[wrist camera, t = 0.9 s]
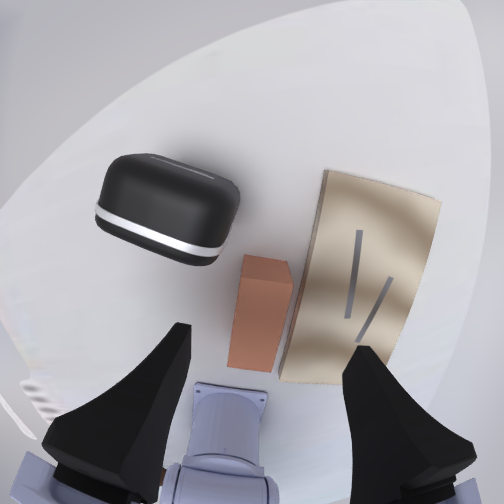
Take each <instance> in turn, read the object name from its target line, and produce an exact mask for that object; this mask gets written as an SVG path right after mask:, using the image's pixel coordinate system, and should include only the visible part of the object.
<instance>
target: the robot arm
mask: <svg viewBox="0 0 504 504" xmlns="http://www.w3.org/2000/svg"><path fill="white" fill-rule="evenodd" d="M190 360H191V325H189V324H184V323H179V322H177V323H175V324H174V325H173V327H172V328H171V329H170V331H169V332H168V333H167V335H166V336H165V337H164V338H163V339H162V341H161V342H160V343H159V344H158V345H157V346H156V347H155V349H154V350H153V351H152V352H151V353H150V354H149V355H148V356H147V357H146V358H145V359H144V360H143V361H142V362H141V363H140V364H139V365H138V366H137V367H136V368H135V369H134V370H133V371H132V372H130V373H129V374H128V375H127V376H126V377H125V378H123V379H122V380H121V381H120V382H118V383H117V384H116V385H114V386H113V387H111V388H110V389H109V390H107V391H106V392H104V393H103V394H101V395H100V396H98V397H97V398H95V399H93V400H91V401H90V402H88V403H86V404H84V405H83V406H81V407H79V408H77V409H75V410H73V411H70V412H68V413H66V414H64V415H61V416H59V417H56V418H55V419H54V421H53V422H52V424H51V425H50V427H49V429H48V431H47V433H46V435H45V437H44V439H43V442H42V447H43V448H44V450H45V451H46V452H47V453H48V454H50V455H51V456H52V457H53V458H54V459H55V460H56V461H57V462H58V465H57V467H55V466H53V465H51V464H50V463H48V462H46V461H45V460H43V459H41V458H39V457H38V456H36V455H34V454H33V453H31V452H29V451H27V452H26V454H25V456H24V459H23V461H22V463H21V466H20V468H19V471H18V473H17V476H16V478H15V480H14V483H13V486H12V488H11V491H10V494H9V495H10V497H11V498H13V499H14V500H16V501H17V502H18V503H20V504H140V503H143V504H153V503H155V502H157V500H158V492H159V485H160V478H161V472H162V466H163V460H164V455H165V449H166V444H167V439H168V435H169V430H170V426H171V422H172V419H173V416H174V413H175V410H176V407H177V404H178V401H179V398H180V395H181V392H182V389H183V386H184V384H185V381H186V378H187V373H188V369H189V364H190ZM342 385H343V395H344V401H345V406H346V411H347V416H348V421H349V427H350V432H351V439H352V457H353V469H352V489H351V498H350V504H481V499H480V495H479V491H478V487H477V483H476V480H475V478H472V479H470V480H468V481H466V482H463V483H461V484H459V485H457V486H455V487H454V485H453V482H455V481H456V476H455V475H456V474H457V473H459V472H460V471H462V470H463V469H465V468H466V467H468V466H469V465H471V464H472V463H473V462H474V461H475V460H476V458H477V455H476V452H475V450H474V446H473V443H472V442H470V441H468V440H466V439H464V438H462V437H460V436H459V435H457V434H455V433H454V432H452V431H450V430H449V429H448V428H446V427H444V426H443V425H442V424H440V423H439V422H438V421H437V420H435V419H434V418H433V417H431V416H430V415H429V414H428V413H427V412H426V411H425V410H424V409H423V408H422V407H421V406H420V405H419V404H418V403H417V402H416V401H415V400H414V399H413V398H412V397H411V396H410V395H409V394H408V393H407V392H406V391H405V389H404V388H403V387H402V386H401V385H400V384H399V382H398V381H397V380H396V379H395V377H394V376H393V375H392V374H391V372H390V371H389V370H388V368H387V367H386V366H385V364H384V363H383V362H382V361H381V359H380V358H379V357H378V355H377V354H376V353H375V352H374V350H373V349H372V348H371V347H370V346H365V345H358V346H357V348H356V350H355V351H354V353H353V355H352V357H351V359H350V361H349V362H348V364H347V366H346V368H345V369H344V371H343V373H342ZM198 390H200V391H198ZM267 398H268V396H267V393H265V392H257V391H248V390H240V389H232V388H225V387H218V386H212V385H206V384H200V383H197V384H195V386H194V400H193V426H192V431H191V435H190V440H189V445H188V449H187V454H186V456H184V458H183V463H182V467H181V464H179V463H174V464H173V465H171V466H169V467H168V469H167V471H166V474H165V478H164V481H163V486H162V491H161V497H160V504H279V490H278V486H277V484H276V483H275V482H274V481H273V479H272V478H271V477H269V476H264V467H259V424H260V421H261V418H262V415H263V411H264V408H265V405H266V401H267Z"/></svg>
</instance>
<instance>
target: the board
mask: <svg viewBox="0 0 504 504" xmlns="http://www.w3.org/2000/svg"><path fill="white" fill-rule="evenodd" d="M441 202H442V201H439V200H436V199H433V198H430V197H426V196H423V195H420V194H417V193H414V192H410V191H407V190H404V189H400V188H397V187H393V186H389V185H386V184H382V183H378V182H375V181H371V180H367V179H363V178H359V177H355V176H351V175H346V174H342V173H338V172H333V171H328V170H324V176H323V181H322V187H321V192H320V198H319V203H318V208H317V213H316V218H315V223H314V228H313V233H312V238H311V242H310V247H309V252H308V256H307V261H306V265H305V270H304V274H303V279H302V283H301V287H300V291H299V295H298V300H297V304H296V308H295V312H294V316H293V320H292V324H291V328H290V331H289V335H288V339H287V343H286V346H285V350H284V354H283V357H282V361H281V365H280V368H279V372H278V373H279V382H292V383H307V384H332V385H342V373H343V371H344V369H345V368H346V366H347V364H348V362H349V361H350V359H351V357H352V355H353V353H354V351H355V350H356V348H357V346H358V345H365V346H370V347H371V348H372V349H373V350H374V352H375V353H376V354H377V355H378V357H379V358H380V359H381V361H382V362H383V363H384V364H385V366H386V365H387V363H388V360H389V358H390V356H391V354H392V352H393V350H394V347H395V345H396V343H397V341H398V338H399V336H400V334H401V331H402V329H403V327H404V324H405V322H406V319H407V317H408V314H409V312H410V309H411V306H412V304H413V301H414V298H415V295H416V293H417V290H418V287H419V284H420V281H421V278H422V275H423V272H424V268H425V265H426V262H427V259H428V255H429V252H430V248H431V244H432V241H433V237H434V233H435V229H436V225H437V221H438V216H439V212H440V207H441Z"/></svg>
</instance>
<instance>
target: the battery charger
mask: <svg viewBox="0 0 504 504" xmlns="http://www.w3.org/2000/svg"><path fill="white" fill-rule="evenodd" d="M239 202H240V192H239V190H238V188H237V187H236V186H235V185H234V184H233V183H232V182H231V181H229V180H227V179H225V178H222V177H220V176H217V175H214V174H212V173H209V172H206V171H203V170H200V169H197V168H194V167H191V166H188V165H186V164H183V163H180V162H178V161H175V160H172V159H169V158H166V157H163V156H159V155H155V154H147V153H146V154H131V155H124V156H120V157H119V158H117V159H115V160H114V161H113V162H112V164H111V165H110V166H109V168H108V170H107V173H106V175H105V179H104V182H103V186H102V190H101V194H100V198H99V200H98V201H97V203H96V207H95V212H96V216H95V221H96V223H97V225H98V226H99V227H100V228H101V229H102V230H104V231H105V232H107V233H109V234H111V235H113V236H116V237H118V238H120V239H123V240H125V241H127V242H130V243H132V244H134V245H137V246H139V247H141V248H144V249H146V250H149V251H151V252H154V253H157V254H159V255H162V256H164V257H167V258H170V259H172V260H175V261H178V262H181V263H184V264H187V265H192V266H206V265H210V264H212V263H213V262H214V261H215V260H216V259H217V257H218V256H219V254H220V253H221V252H222V250H223V249H224V247H225V245H226V242H227V240H228V237H229V235H230V232H231V227H232V223H233V220H234V217H235V215H236V212H237V209H238V206H239Z"/></svg>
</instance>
